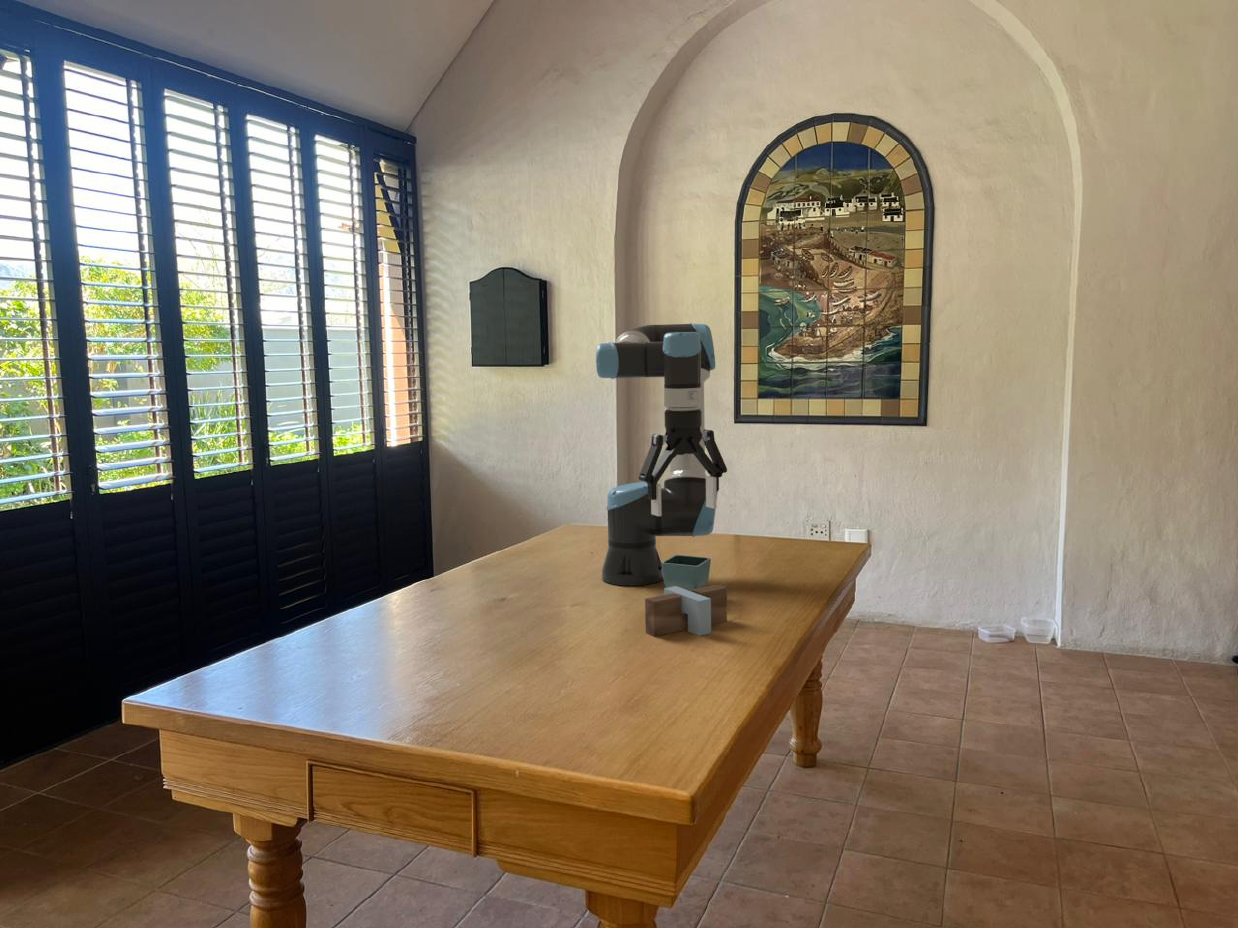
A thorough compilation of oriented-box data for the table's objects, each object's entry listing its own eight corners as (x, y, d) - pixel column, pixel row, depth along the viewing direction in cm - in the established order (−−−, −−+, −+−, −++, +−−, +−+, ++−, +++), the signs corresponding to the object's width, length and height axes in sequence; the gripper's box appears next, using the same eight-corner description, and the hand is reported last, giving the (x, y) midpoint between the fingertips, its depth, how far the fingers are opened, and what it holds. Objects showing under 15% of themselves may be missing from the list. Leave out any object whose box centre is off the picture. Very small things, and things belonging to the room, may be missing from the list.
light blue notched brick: (664, 621, 194) (664, 588, 193) (676, 618, 196) (676, 586, 195) (698, 635, 184) (698, 601, 183) (711, 633, 185) (710, 598, 185)
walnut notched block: (645, 632, 187) (644, 598, 186) (718, 617, 196) (717, 584, 195) (653, 636, 184) (653, 601, 183) (726, 620, 193) (726, 587, 192)
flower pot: (712, 595, 213) (711, 557, 212) (698, 606, 205) (698, 565, 204) (675, 592, 216) (675, 554, 215) (661, 602, 209) (660, 562, 207)
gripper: (639, 413, 181) (642, 521, 184) (743, 405, 193) (743, 507, 196) (620, 411, 188) (622, 515, 191) (721, 403, 200) (722, 501, 203)
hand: (684, 511), depth 194 cm, fingers open, 13 cm apart
